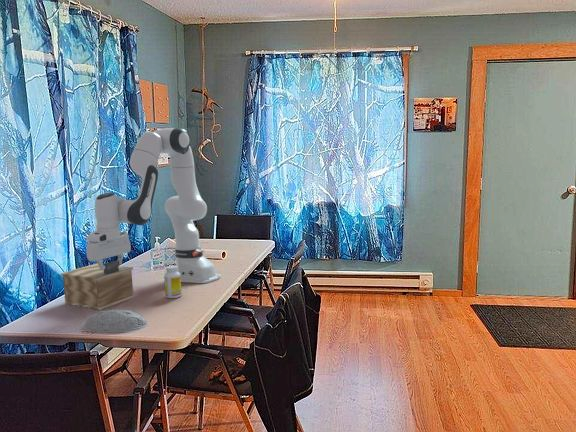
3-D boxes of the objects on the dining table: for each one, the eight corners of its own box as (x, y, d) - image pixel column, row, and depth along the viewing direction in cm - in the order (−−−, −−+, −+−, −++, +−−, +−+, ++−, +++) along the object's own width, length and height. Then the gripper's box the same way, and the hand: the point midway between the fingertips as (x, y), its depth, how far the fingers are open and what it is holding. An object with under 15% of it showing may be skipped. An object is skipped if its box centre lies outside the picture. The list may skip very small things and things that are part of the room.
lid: (133, 269, 224) (132, 258, 223) (97, 280, 207) (96, 268, 207) (97, 265, 234) (96, 254, 233) (60, 275, 217) (59, 263, 217)
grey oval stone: (138, 333, 182) (137, 313, 182) (71, 334, 186) (70, 315, 186) (157, 322, 197) (156, 304, 197) (95, 324, 202) (93, 306, 201)
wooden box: (133, 297, 225) (131, 269, 224) (100, 310, 210) (97, 280, 208) (99, 292, 235) (97, 265, 233) (65, 303, 219) (62, 275, 217)
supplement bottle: (184, 294, 227) (182, 265, 225) (176, 299, 221) (174, 269, 219) (170, 293, 229) (169, 264, 228) (162, 298, 223) (160, 268, 221)
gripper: (121, 229, 225) (124, 261, 227) (82, 237, 207) (85, 272, 209) (133, 230, 222) (135, 262, 224) (94, 238, 204) (97, 274, 206)
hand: (111, 267), depth 216 cm, fingers open, 7 cm apart
